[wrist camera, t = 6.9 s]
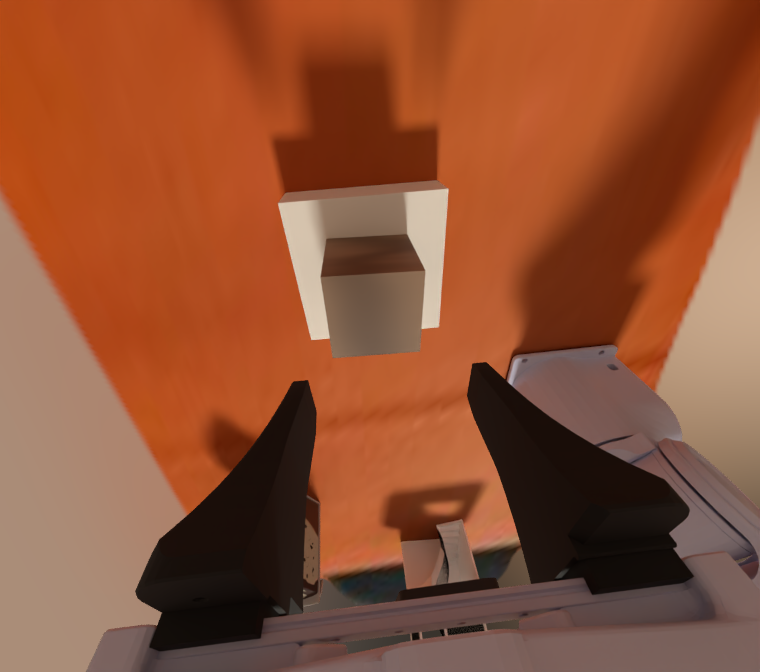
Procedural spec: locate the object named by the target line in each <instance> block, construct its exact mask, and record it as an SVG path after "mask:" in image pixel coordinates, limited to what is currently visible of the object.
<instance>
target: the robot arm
mask: <svg viewBox="0 0 760 672" xmlns="http://www.w3.org/2000/svg"><path fill="white" fill-rule="evenodd" d="M617 350H618V348H617V347H616V346H615V345H606V346H596V347H587V348H578V349H568V350H559V351H550V352H540V353H531V354H522V355H516V356H514V357H513V359H512V362H511V366H510V370H509V373H508V377H507V381H506V380H505V379H504V378H503V377H502V376H501V375H500V374H498V373H497V372H496V371H495V370H494V369H493V368H492V367H491V366H490V365H489V364H488V363H486V362H483V363H473V364H472V369H471V375H470V381H469V387H468V393H467V397H468V401H469V404H470V407H471V410H472V414H473V417H474V419H475V421H476V424H477V426H478V428H479V430H480V433H481V435H482V437H483V439H484V441H485V444H486V446H487V448H488V450H489V452H490V455H491V457H492V459H493V461H494V463H495V466H496V468H497V471H498V473H499V476H500V479H501V482H502V485H503V488H504V491H505V494H506V497H507V500H508V503H509V507H510V510H511V513H512V516H513V519H514V523H515V526H516V529H517V533H518V536H519V540H520V543H521V547H522V550H523V554H524V558H525V562H526V565H527V569H528V573H529V577H530V581H531V584H528V585H521V586H513V587H505V588H497V589H489V590H482V591H474V592H466V593H458V594H450V595H443V596H435V597H427V598H419V599H412V600H404V601H396V602H388V603H380V604H373V605H365V606H357V607H350V608H342V609H334V610H326V611H318V612H310V613H304V614H302V613H303V574H304V541H305V519H306V501H307V489H308V481H309V475H310V468H311V462H312V455H313V449H314V442H315V435H316V412H317V411H316V408H315V404H314V401H313V397H312V393H311V390H310V386H309V382H308V380H305V381H295V382H293V383H292V384H291V386H290V388H289V390H288V392H287V394H286V395H285V397H284V399H283V401H282V402H281V404H280V406H279V407H278V409H277V411H276V412H275V414H274V415H273V417H272V419H271V420H270V422H269V423H268V425H267V426H266V428H265V429H264V431H263V432H262V433H261V435H260V436H259V438H258V439H257V441H256V442H255V443H254V445H253V446H252V447H251V449H250V450H249V451H248V452H247V454H246V455H245V456H244V457H243V459H242V460H241V461H240V462H239V463H238V465H237V466H236V467H235V468H234V469H233V470H232V471H231V472H230V474H229V475H228V476H227V477H226V478H225V479H224V480H223V481H222V482H221V483H220V484H219V486H218V487H217V488H216V489H215V490H214V491H213V492H211V493H210V494H209V495H208V496H207V497H206V498H205V499H204V500H203V501H202V502H201V503H200V504H199V505H198V506H197V507H196V508H195V509H194V510H193V511H192V512H191V513H190V514H189V515H187V516H186V517H185V518H184V519H183V520H182V521H180V522H179V523H178V524H177V525H176V526H175V527H174V528H172V529H171V530H170V531H169V532H168V533H167V534H165V535H164V536H163V537H162V538H161V539H160V540H159V541H158V543H157V545H156V547H155V549H154V551H153V552H152V555H151V557H150V559H149V561H148V563H147V566H146V568H145V570H144V572H143V575H142V577H141V580H140V582H139V584H138V586H137V588H136V591H135V592H136V595H137V598H138V599H139V600H141V601H142V602H144V603H145V604H148V605H149V606H151V607H153V608H155V609H156V610H158V611H160V612H162V614H161V617H160V620H159V622H158V625H157V626H156V625H138V626H131V627H123V628H115V629H109V630H107V631H106V632H105V633H104V634H103V637H102V639H101V641H100V643H99V645H98V647H97V649H96V652H95V654H94V656H93V658H92V660H91V662H90V664H89V666H88V669H87V671H86V672H760V509H759V508H758V507H757V506H756V505H755V504H754V503H753V502H752V501H751V500H750V499H749V498H748V497H747V496H746V495H745V494H744V493H743V492H742V491H741V490H740V489H739V488H738V487H737V486H736V485H735V484H733V483H732V482H731V481H730V480H729V479H728V478H727V477H726V476H725V475H724V474H723V473H722V472H720V471H719V470H718V469H717V468H716V467H715V466H714V465H712V464H711V463H710V462H709V461H708V460H707V459H706V458H704V457H703V456H702V455H701V454H699V453H698V452H697V451H696V450H695V449H693V448H692V447H691V446H689V445H688V444H686V443H685V442H682V432H681V428H680V425H679V422H678V420H677V418H676V416H675V414H674V413H673V411H672V410H671V408H670V407H669V406H668V405H667V404H666V402H665V401H663V399H661V398H660V397H659V396H658V395H657V394H656V393H655V392H654V391H653V390H652V389H650V388H649V387H648V386H647V385H646V384H645V383H644V382H643V381H642V380H641V379H639V378H638V377H637V376H636V375H635V374H634V373H633V372H632V371H631V370H630V369H628V368H627V367H626V366H625V365H624V364H623V363H622V362H621V361H620V360H619V359H617V358H616V357H615V354H616V352H617ZM751 555H752V556H751ZM748 556H750V557H749V558H747V559H746V560H744V561H742V562H739V563H736V562H735V561H736V560H739V559H742V558H745V557H748ZM522 618H526V619H522ZM515 619H522V620H520V622H519V628H518V629H517V630H513V629H498V630H488V631H480V632H473V633H465V634H458V635H450V636H443V637H435V638H428V639H420V640H414V641H408V642H403V643H398V644H396V645H391V646H386V647H381V648H377V649H372V650H367V651H362V652H357V653H353V654H347V647H346V646H345V645H340V644H339V645H338V644H336V645H335V644H334V643H341V642H348V641H356V640H364V639H371V638H379V637H387V636H394V635H402V634H409V633H417V632H424V631H432V630H439V629H447V628H454V627H462V626H470V625H477V624H485V623H492V622H500V621H507V620H515Z"/></svg>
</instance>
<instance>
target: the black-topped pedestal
mask: <svg viewBox="0 0 760 672" xmlns="http://www.w3.org/2000/svg"><path fill="white" fill-rule="evenodd" d="M436 527H437V530H438V532H439V533H438V535H439V537H440V538H439V539H431V540H417V541H402V542H401V547H402V555H403V563H404V571H405V579H406V587H407V590H402V591H400V592H399V594H398V596H397V599H396V601H404V600H412V599H419V598H427V597H435V596H443V595H450V594H458V593H466V592H474V591H482V590H489V589H497V588H499V586H498V582H497V579H496V578H482V579H479V577H478V573H477V569H476V566H475V562H474V559H473V555H472V552H471V548H470V545H469V541H468V538H467V534H466V531H465V527H464V524H463V520H462V519H460V520H457V521H452V522H448V523H443V524H439V525H436ZM396 601H395V602H396ZM479 625H480V624H479ZM479 625H477V627H478V626H479ZM470 626H471V625H470ZM470 626H468V628H470ZM480 626H482V625H480ZM483 626H484V627H482V628H484V629H485V630H483V629H482V631H487V627H486V623H485V624H483ZM464 627H465V626H464ZM464 627H462V628H464ZM471 627H472V626H471ZM475 627H476V626H475ZM454 628H456V627H454ZM457 628H458V627H457ZM472 628H473V627H472ZM472 628H470V629H471V630H472ZM479 628H481V627H479ZM449 629H450V628H448V630H449ZM451 629H453V628H451ZM460 629H461V628H459V630H460ZM474 629H475V628H474ZM476 629H477V628H476ZM439 630H440V632H441V634H442V636H444V635H445V636H448V635H449V634H451V633H449V631H447V629H444V631H442V630H443V629H439ZM456 630H458V629H456ZM459 630H458V632H460V631H459ZM468 630H469V629H468ZM479 630H480V629H479ZM479 630H478V631H479ZM454 631H455V629H454ZM464 631H466V629H464ZM475 631H476V632H477V630H475ZM475 631H474V630H473V631H472V632H475ZM450 632H451V630H450ZM467 632H468V631H467ZM469 632H470V631H469ZM469 632H468V633H469ZM479 632H480V631H479ZM443 633H444V634H443ZM448 633H449V634H448ZM455 633H456V635H457V632H456V631H455ZM455 633H454V632H453V633H452V634H453V635H454V634H455ZM460 633H463V631H462V630H461V632H460ZM464 633H466V632H464ZM410 634H411V641H414V640H420V639H422V633H421V632H419V633H418V632H417V633H410ZM419 636H420V637H419Z"/></svg>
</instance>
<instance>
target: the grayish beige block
mask: <svg viewBox="0 0 760 672" xmlns="http://www.w3.org/2000/svg"><path fill="white" fill-rule="evenodd" d="M320 278H321V284H322V291H323V297H324V304H325V310H326V317H327V323H328V330H329V336H330V343H331V349H332V356H333V358H341V357H354V356H367V355H380V354H393V353H406V352H419V351H420V343H421V329H422V314H423V300H424V286H425V269H424V267H423V265H422V263H421V261H420V259H419V257H418V255H417V253H416V251H415V249H414V247H413V245H412V243H411V241H410V239H409V237H408V235H407V234H402V235H384V236H366V237H347V238H329V239H326V245H325V251H324V257H323V264H322V270H321V276H320Z"/></svg>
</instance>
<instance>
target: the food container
mask: <svg viewBox="0 0 760 672" xmlns="http://www.w3.org/2000/svg"><path fill="white" fill-rule="evenodd" d="M322 588H323V580H320V502H318V501H316V500H315V499H313V498H311V497H309V496H308V495H307V501H306V519H305V541H304V574H303V607H304V606H308V605H313V604H317V603H319V602H320V596H321V595H322Z"/></svg>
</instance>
